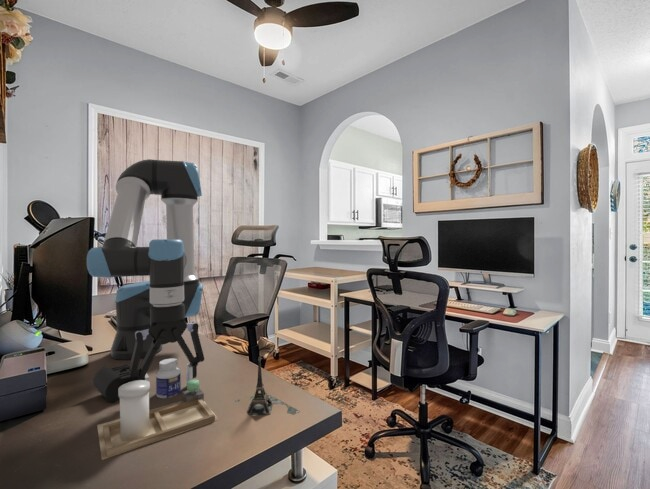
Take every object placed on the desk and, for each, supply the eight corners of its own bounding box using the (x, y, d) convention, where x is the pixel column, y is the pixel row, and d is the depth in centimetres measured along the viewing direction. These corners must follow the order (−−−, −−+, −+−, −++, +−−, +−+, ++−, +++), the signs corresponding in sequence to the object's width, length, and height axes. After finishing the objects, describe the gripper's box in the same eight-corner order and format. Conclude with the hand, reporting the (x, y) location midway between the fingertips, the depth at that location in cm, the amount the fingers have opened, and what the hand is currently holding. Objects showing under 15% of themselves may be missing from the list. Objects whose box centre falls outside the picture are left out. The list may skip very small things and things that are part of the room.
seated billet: (117, 432, 64) (116, 384, 63) (148, 422, 67) (147, 377, 67) (120, 445, 59) (119, 395, 59) (153, 435, 63) (152, 387, 62)
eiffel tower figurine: (301, 413, 73) (300, 353, 73) (263, 433, 66) (263, 367, 66) (261, 392, 84) (260, 339, 83) (224, 407, 76) (224, 349, 76)
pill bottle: (171, 404, 77) (170, 366, 76) (151, 402, 78) (150, 364, 77) (185, 393, 82) (184, 358, 82) (166, 391, 83) (166, 356, 83)
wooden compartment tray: (97, 430, 66) (96, 415, 66) (199, 400, 78) (199, 387, 78) (101, 466, 56) (101, 448, 56) (219, 425, 68) (219, 409, 68)
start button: (185, 396, 76) (185, 381, 76) (197, 393, 77) (197, 378, 77) (188, 401, 74) (188, 385, 74) (200, 397, 75) (200, 382, 75)
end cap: (93, 396, 81) (92, 369, 81) (125, 386, 86) (125, 360, 86) (105, 410, 74) (105, 380, 74) (140, 399, 79) (139, 371, 79)
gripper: (115, 312, 70) (117, 419, 70) (217, 300, 83) (218, 390, 83) (112, 307, 76) (114, 405, 76) (208, 296, 89) (209, 380, 89)
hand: (168, 397), depth 80 cm, fingers open, 9 cm apart
